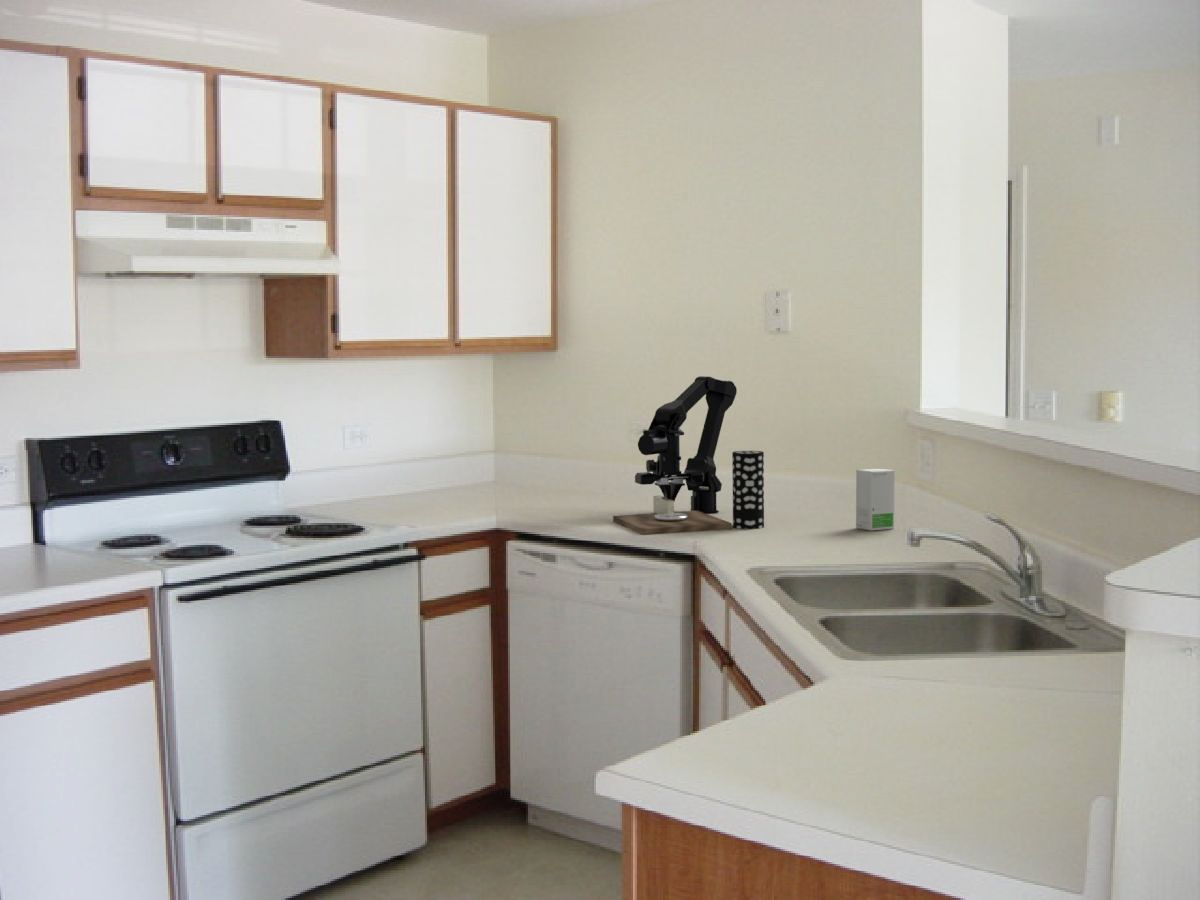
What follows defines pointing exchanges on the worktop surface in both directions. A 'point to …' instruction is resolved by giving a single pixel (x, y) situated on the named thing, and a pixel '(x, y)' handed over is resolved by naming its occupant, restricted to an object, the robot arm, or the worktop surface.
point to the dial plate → (671, 523)
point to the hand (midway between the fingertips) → (669, 507)
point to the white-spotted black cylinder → (748, 489)
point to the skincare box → (874, 499)
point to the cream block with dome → (666, 509)
